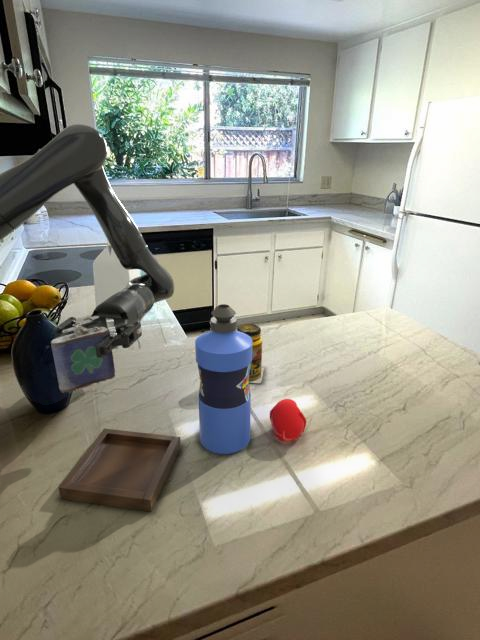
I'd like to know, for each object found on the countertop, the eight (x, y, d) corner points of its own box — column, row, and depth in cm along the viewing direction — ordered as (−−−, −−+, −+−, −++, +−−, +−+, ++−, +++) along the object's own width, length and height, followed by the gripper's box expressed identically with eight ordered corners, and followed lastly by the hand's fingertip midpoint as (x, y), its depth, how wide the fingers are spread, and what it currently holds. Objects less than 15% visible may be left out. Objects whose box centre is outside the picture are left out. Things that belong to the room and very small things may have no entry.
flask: (62, 395, 64) (50, 333, 60) (57, 387, 67) (45, 327, 63) (118, 377, 69) (110, 319, 66) (111, 371, 72) (104, 314, 68)
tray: (60, 498, 59) (58, 487, 58) (105, 438, 72) (103, 428, 71) (151, 512, 57) (150, 500, 56) (180, 447, 70) (180, 436, 69)
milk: (110, 309, 133) (100, 230, 124) (144, 310, 133) (138, 230, 123) (97, 323, 122) (85, 237, 112) (134, 323, 122) (126, 237, 112)
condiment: (261, 384, 89) (262, 334, 85) (223, 380, 91) (223, 332, 86) (264, 368, 96) (265, 322, 92) (229, 365, 97) (229, 319, 93)
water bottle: (193, 451, 69) (186, 315, 59) (205, 419, 77) (201, 295, 68) (247, 457, 67) (249, 318, 58) (253, 423, 76) (256, 298, 67)
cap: (310, 445, 70) (312, 416, 68) (277, 449, 69) (278, 420, 67) (296, 418, 78) (298, 391, 75) (266, 421, 77) (267, 394, 74)
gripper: (84, 292, 78) (30, 325, 63) (154, 297, 76) (116, 332, 61) (89, 328, 81) (38, 367, 66) (157, 333, 79) (121, 375, 64)
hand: (76, 350), depth 63 cm, fingers closed on flask, 7 cm apart
